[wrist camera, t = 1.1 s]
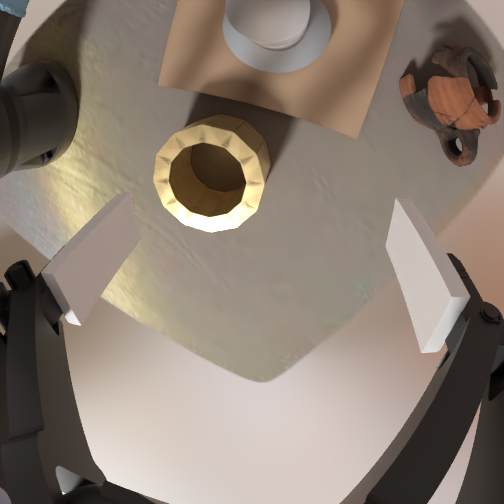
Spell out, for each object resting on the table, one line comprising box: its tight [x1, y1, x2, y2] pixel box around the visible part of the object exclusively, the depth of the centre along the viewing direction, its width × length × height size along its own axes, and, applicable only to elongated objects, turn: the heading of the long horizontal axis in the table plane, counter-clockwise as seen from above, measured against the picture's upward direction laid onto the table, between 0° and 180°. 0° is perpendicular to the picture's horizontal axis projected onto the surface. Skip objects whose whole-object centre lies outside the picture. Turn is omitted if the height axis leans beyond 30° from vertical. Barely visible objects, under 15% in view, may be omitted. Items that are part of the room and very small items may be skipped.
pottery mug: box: [399, 43, 501, 167], centre depth 20 cm, size 12×10×8 cm
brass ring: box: [154, 114, 271, 232], centre depth 28 cm, size 10×10×6 cm
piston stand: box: [158, 0, 404, 139], centre depth 17 cm, size 20×16×11 cm
